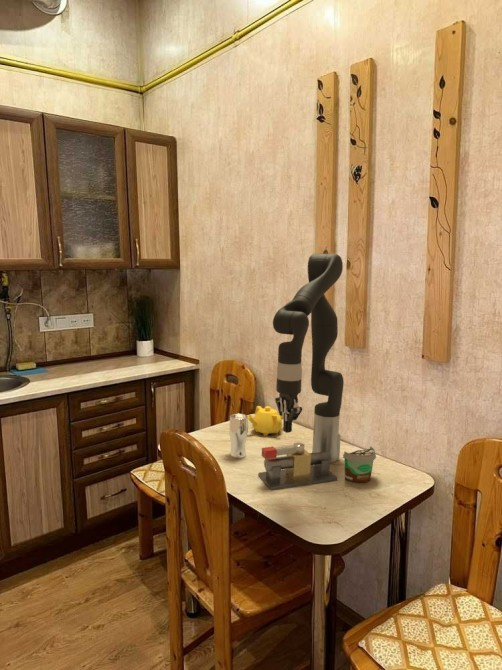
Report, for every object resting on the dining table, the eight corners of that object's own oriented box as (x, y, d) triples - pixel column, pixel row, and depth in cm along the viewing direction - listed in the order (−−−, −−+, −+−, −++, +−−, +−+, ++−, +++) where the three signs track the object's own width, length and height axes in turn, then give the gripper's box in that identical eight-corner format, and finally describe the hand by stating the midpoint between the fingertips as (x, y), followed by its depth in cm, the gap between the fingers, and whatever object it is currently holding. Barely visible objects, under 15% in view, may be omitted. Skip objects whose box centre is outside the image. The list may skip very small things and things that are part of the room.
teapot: (274, 422, 212) (274, 398, 211) (298, 434, 197) (299, 409, 196) (236, 429, 202) (237, 404, 200) (259, 443, 187) (259, 416, 185)
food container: (353, 487, 150) (355, 458, 149) (341, 480, 156) (343, 451, 154) (382, 480, 156) (384, 452, 155) (369, 473, 161) (371, 446, 160)
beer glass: (245, 459, 170) (246, 420, 168) (226, 457, 171) (227, 418, 169) (248, 452, 177) (250, 414, 175) (231, 450, 178) (232, 412, 176)
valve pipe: (321, 466, 166) (322, 442, 164) (337, 480, 155) (338, 454, 154) (258, 475, 157) (259, 450, 156) (270, 490, 147) (271, 463, 146)
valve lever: (300, 449, 157) (301, 442, 157) (306, 453, 154) (306, 445, 154) (261, 455, 151) (261, 447, 151) (265, 459, 148) (266, 451, 148)
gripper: (311, 380, 136) (309, 437, 139) (289, 371, 148) (287, 423, 151) (289, 383, 133) (287, 440, 136) (268, 373, 145) (266, 426, 147)
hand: (287, 431), depth 143 cm, fingers closed
